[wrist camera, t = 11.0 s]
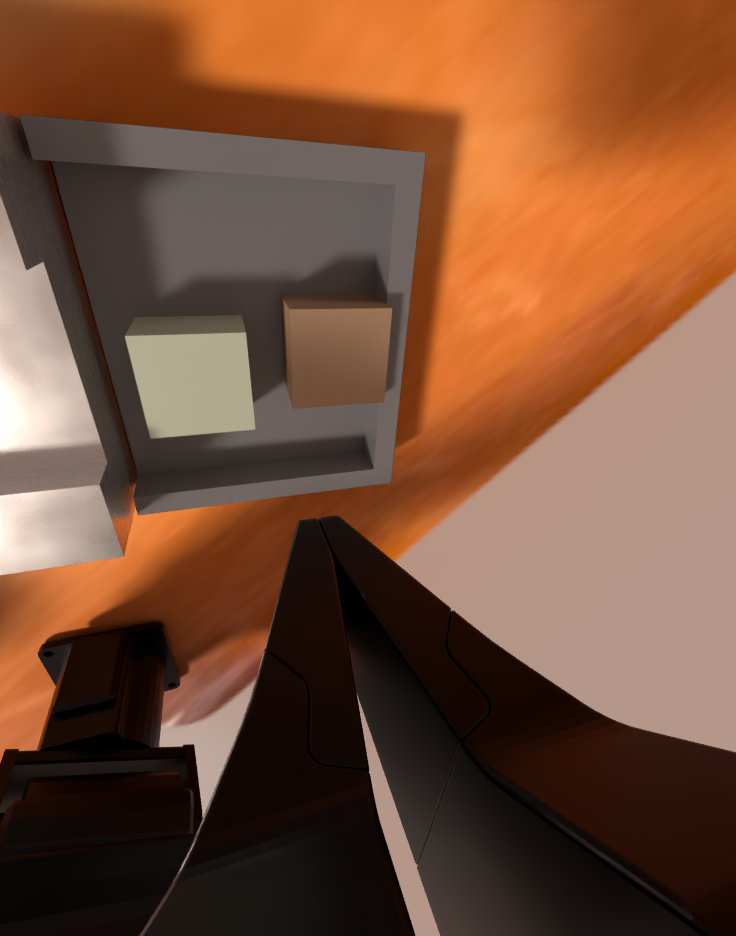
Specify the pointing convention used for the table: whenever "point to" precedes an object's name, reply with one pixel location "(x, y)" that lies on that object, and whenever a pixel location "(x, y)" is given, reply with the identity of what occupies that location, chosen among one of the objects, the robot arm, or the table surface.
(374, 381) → the brown block
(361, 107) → the table surface
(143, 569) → the table surface
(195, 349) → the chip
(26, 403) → the slot block
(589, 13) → the table surface
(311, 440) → the tray
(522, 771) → the robot arm
